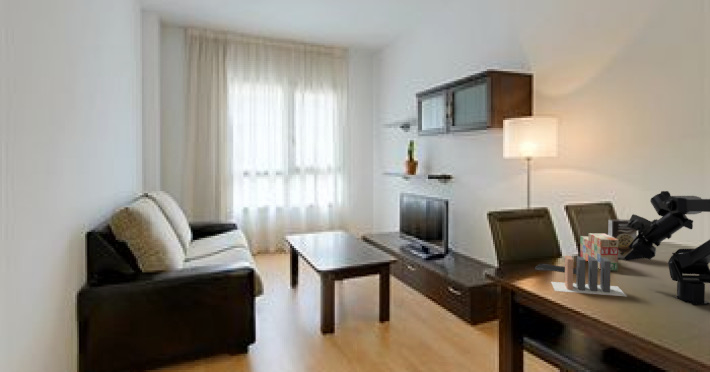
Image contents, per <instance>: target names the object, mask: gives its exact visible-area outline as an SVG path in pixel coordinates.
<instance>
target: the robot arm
mask: <svg viewBox="0 0 710 372" xmlns="http://www.w3.org/2000/svg"><path fill="white" fill-rule="evenodd" d="M650 203H651V205H652V207H653V208H654V210H655V212H656V213H657V215H658V216H660V218H655V219H653V220H649V219H647V218H645V217H643V216H640V215H637V214H634V213H633V214H632V215H631V216H630V218H629V219H628V220H629V222H628V224H627V227H629V228H632V229H634V230H637V236H636V238H635V239H634V240H633V241H632V242H631V244H630V245H629V246H628V247H629V248H630V249H632V248H633V249H632V250H631V251H630V252H629V253H628V254H627V255H626V256H625V257H624V260H625V261H633V260H640V259H643V260H644V259H647V260H652V259H653V258H655V257H656V254H657V247H659V246H660V245H661V243H662V242H663V241H665V240H666V239H668V240H670V239H671V238H672V237H673V235H674V234H675V233H677V232H678V231H680V230H681V229H682V228H686V229H688V230H693V228H694V226H693V223H694V220H693V219H691V218H688V217H687V215H698V214H702V213H705V212H708V213H710V198H702V197H700V196H697V195H671V193H670V192H669V191H668V190H662V191H661V192H660V193H656V194H655V195H654V196H652V197H651V198H650ZM654 245H655V246H656V247H655V246H654ZM667 262H668V263H667V264H668V269H669V276H670V279H671V281H674V282H677V283H676V295H672V297H673V298H675V299H677V300H679V301H682V302H683V303H686V304H691V305H710V301H707V300H705V298H706V297H705V296H706V294H705V293H706V284H710V265H709V264H710V239H708V240H706V241H705V242H704V243H702V244H700V245H698V246H697V247H696V248H679V249H677V250H676V251H674V252H672V255H671V256H670V257H669V259H668V261H667Z"/></svg>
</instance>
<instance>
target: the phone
mask: <svg viewBox="0 0 710 372" xmlns="http://www.w3.org/2000/svg"><path fill="white" fill-rule="evenodd" d="M534 268H535V269H534V270H537V271H551V272H559V273H565V266H562V265H561V266H560V265H555V264H554V265H553V264H547V263H539V264H538V265H536V266H535V267H534ZM573 275H577V267H575V268H574V267H573Z"/></svg>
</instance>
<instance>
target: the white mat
mask: <svg viewBox="0 0 710 372" xmlns="http://www.w3.org/2000/svg"><path fill="white" fill-rule="evenodd" d="M550 283H551V286H552V288H553V290H554V292H562V293H577V294H590V295H605V296H616V297H617V296H618V297H627V294H625V292H624V291H623V290H622V289H621V288H620V287H619V286H617V285H610V293H609V292H604V291H603V290H602V289H601V288H600V284H598V286H597V292H596V291H591V290H590V288H589V287H588V283H585V291H582V290H579V289H578V287H577V286H576V283H575V282H573V290H569V289H567V288H566V286H565V282H561V281H560V282H559V281H550Z"/></svg>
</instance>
